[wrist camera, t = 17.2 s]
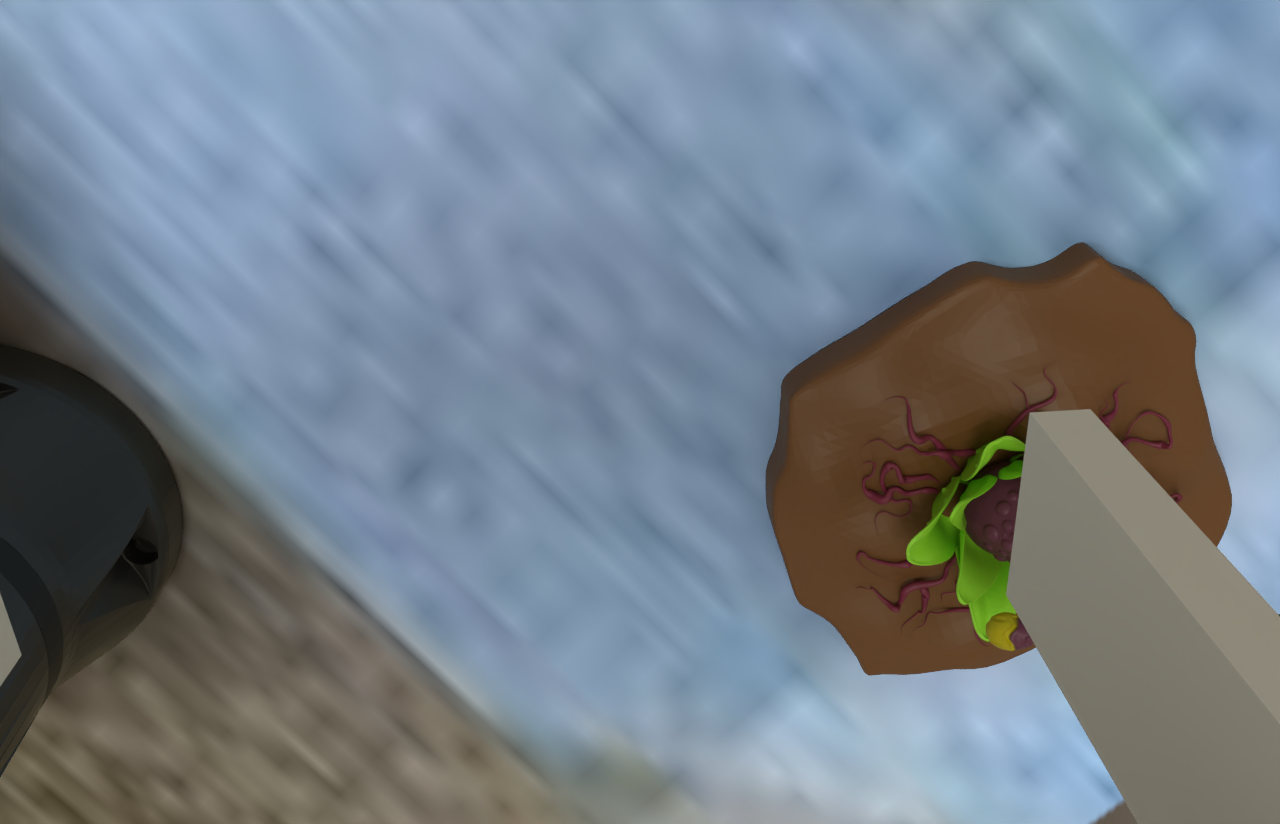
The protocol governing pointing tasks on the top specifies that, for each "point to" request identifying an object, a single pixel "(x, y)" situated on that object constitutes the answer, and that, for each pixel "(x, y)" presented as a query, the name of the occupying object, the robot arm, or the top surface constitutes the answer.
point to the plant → (971, 447)
